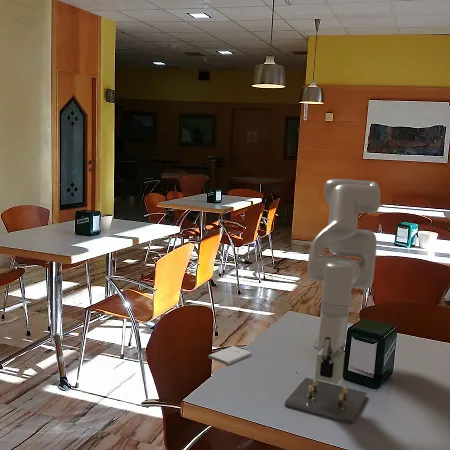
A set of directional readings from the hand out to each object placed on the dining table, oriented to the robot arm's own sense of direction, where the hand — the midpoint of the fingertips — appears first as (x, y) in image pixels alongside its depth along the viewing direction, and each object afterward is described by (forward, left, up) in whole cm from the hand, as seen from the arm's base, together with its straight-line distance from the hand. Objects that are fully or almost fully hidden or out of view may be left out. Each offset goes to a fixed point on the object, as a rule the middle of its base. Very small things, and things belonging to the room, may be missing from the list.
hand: (329, 371), depth 147 cm
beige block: (0, 0, -2) cm, 2 cm away
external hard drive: (-14, -36, -9) cm, 40 cm away
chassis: (0, 0, -9) cm, 9 cm away
